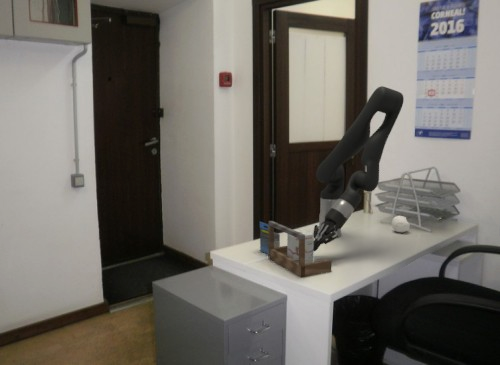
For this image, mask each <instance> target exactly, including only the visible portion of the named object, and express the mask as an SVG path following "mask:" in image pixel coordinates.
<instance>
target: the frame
mask: <svg viewBox="0 0 500 365" xmlns="http://www.w3.org/2000/svg"><path fill="white" fill-rule="evenodd" d="M267 224H268V227H267V228H268V230H269V254H268V260H270V261H272V262H274V263H275V264H277V265H279V266H280V267H282V268H284V269H285V270H287V271H289V272H291V273H292V274H294V275H296V276H297V277H300V278H306V277H311V276H315V275H321V273H322V274H325V273H326V272H327V273H331V272H332V263H333V262H332V260H331V259H324V260H318V261H313V262H312V263H307V264H305V235H304V234H302V233H299V232H300V231H297V230H295V229H292V228H290V227H288V226H285V225H283V224H280V223H278V222H276V221H273V220H268V223H267ZM275 229H276V230H279V231H280V232H283V233H285V234H287V235H288V234H289V235H292V236H294V237H296V238H298V239H299V262H297V261H295V260H293V259H292V258H290V257H288V256H287V245H284V246H280V247H276V248H274V232H275Z"/></svg>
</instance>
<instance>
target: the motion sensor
mask: <svg viewBox="0 0 500 365" xmlns="http://www.w3.org/2000/svg"><path fill="white" fill-rule="evenodd" d="M391 226H392V229H393V230H394V231H395V232H397V233H399V234H400V233H401V234H402V233H406V232H407V231H408V230H409V229H410V226H411V224H410V222H408V220H407V217H406V216H402V215H395V217H393V219H391Z"/></svg>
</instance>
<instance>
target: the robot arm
mask: <svg viewBox="0 0 500 365" xmlns="http://www.w3.org/2000/svg"><path fill="white" fill-rule="evenodd" d="M403 104H404V95H403V93H402V92H400V91H397V90H395V89H392V88H390V87H386V86H384V85H383V86H382V85H381V86H378V87H377V88H376V89H375V90H374V91H373V93H372V94H371V95H370V97H369V99H368V100H367V102H366V103H365V105H364V107H363V109H362V110H361V112H360V113H359V115H358V116H357V117H356V118H355V121H353V123H352V124H351V126H350V127H349V128H348V129H347V130H346V132H345V133H344V134H343V136H342V138H341V139H340V140H339V141H338V143H337V144H336V146H335V147H334V149H333V150H332V151H331V152H330V154H329V155H328V156H326V158H325V159H323V161H322V162H321V163H320V164H319V165H318V167H317V170H316V173H315V174H316V179H317V180H318V182H320V183H321V184H327V185H326V186H325V187H324V189H322V190H321V191H320V208H319V209H320V210H319V211H320V213H319V216H318V218H319V220H318V224H315V225H314V228H313V233H312V234H314V248H313V252H316V251H317V250H318V249H319V248H320V246H321V245H323V244H325V245H327V244H329V243H330V242H332V241H334V240H336V239H337V238H339V237H341V236H342V228H343V226H344V225H345V224H346V223H347V222H348V220H349V218H350V217H351V216H352V214H353V212H354V211H355V209H356V208H357V207H358V206H359V204H360V202H361V200H362V196H361V194H360V193H359V191H360V190H362V191H365V192H373V191H375V190H376V188H377V187H378V185H379V182H380V162H381V159H382V156H383V153H384V150H385V146H386V144H387V140H388V139H389V137H390V135H391V132H392V130H393V128H394V126H395V124H396V121H397V120H398V117H399V116H400V112H401V110H402V109H403V108H402V107H403ZM377 112H380V113H383V114H385V116H384V119H383V121H382V123H381V125H380V126H379V127H378V128H377V129H376V130H375V131H373V133H372V134H371V123H372V119H373V118H374V116H375V115H376V113H377ZM361 150H363V152H362V155H361V160H360V162H361V164H362V165H364V166H365V169H366V171H364V170H356V171H355V172H353V173H352V174H351V176H350V178H349V180H348V183H347V184H346V187H344V186H345V168H344V166H343V164H344V163H346V162H347V161H348V160H351V159H352V158H353V157H355V156H356V155H358V153H360V152H361ZM344 188H345V190H344Z"/></svg>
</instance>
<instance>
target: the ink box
mask: <svg viewBox="0 0 500 365" xmlns="http://www.w3.org/2000/svg"><path fill="white" fill-rule="evenodd" d="M298 232H299V233H302V234H304V235H305V264H307V263H312V262H314V251H313V248H314V240H315V238H314V234H313V233H312V232H310V231H308V230H303V231H298ZM286 246H287V256H288V257H290V258H292V259H293V260H295V261H297V262H299V239H298V238H296V237H294V236H292V235H289V234H287V245H286Z"/></svg>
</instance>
